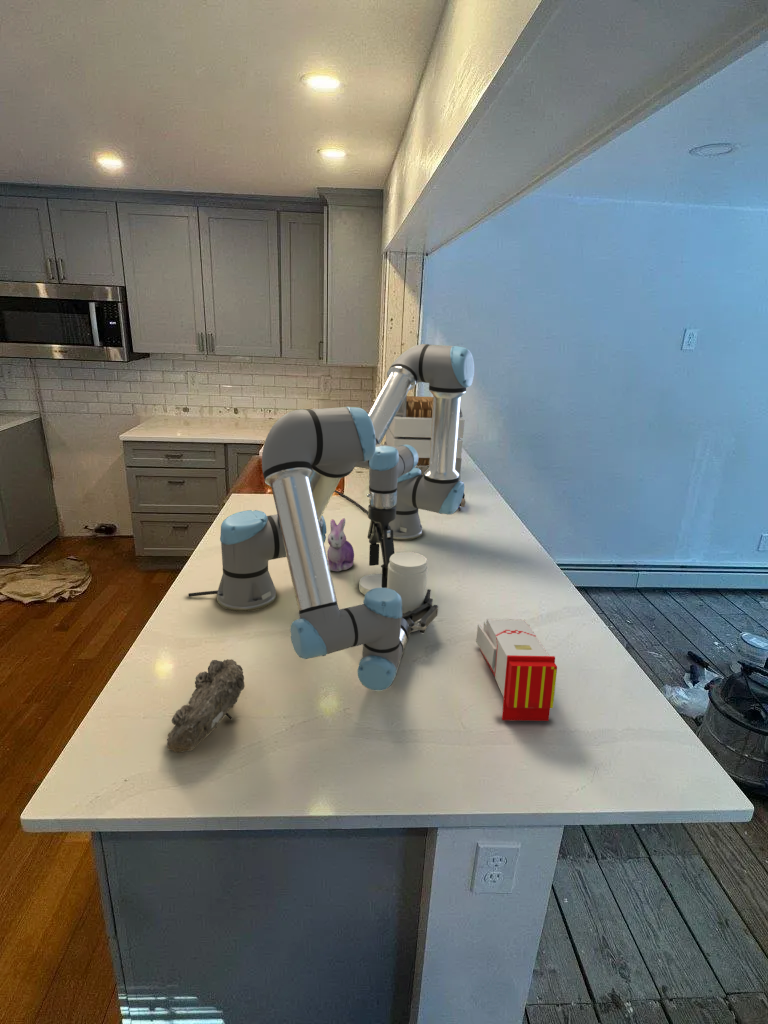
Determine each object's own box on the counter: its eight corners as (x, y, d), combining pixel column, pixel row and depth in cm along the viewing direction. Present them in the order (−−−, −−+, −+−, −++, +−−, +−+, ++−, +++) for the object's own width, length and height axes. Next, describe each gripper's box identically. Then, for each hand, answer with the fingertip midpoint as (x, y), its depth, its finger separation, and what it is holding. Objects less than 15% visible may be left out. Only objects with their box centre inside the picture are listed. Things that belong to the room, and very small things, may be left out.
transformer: (382, 463, 289) (386, 382, 275) (445, 464, 293) (451, 384, 279) (390, 482, 257) (394, 392, 243) (460, 483, 261) (468, 394, 247)
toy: (523, 604, 135) (566, 662, 106) (518, 656, 138) (559, 727, 109) (472, 603, 135) (501, 661, 105) (468, 655, 138) (496, 726, 108)
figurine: (332, 575, 167) (332, 527, 162) (319, 561, 175) (319, 516, 170) (361, 569, 171) (362, 523, 166) (347, 556, 179) (348, 512, 174)
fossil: (192, 660, 117) (244, 628, 112) (224, 691, 120) (276, 661, 115) (142, 746, 98) (202, 712, 93) (182, 779, 101) (242, 748, 96)
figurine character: (465, 515, 224) (460, 499, 237) (467, 498, 221) (462, 483, 234) (448, 515, 224) (444, 499, 237) (450, 498, 220) (445, 482, 234)
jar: (403, 636, 137) (407, 570, 131) (377, 620, 144) (380, 556, 138) (431, 624, 143) (436, 560, 137) (405, 608, 150) (409, 547, 144)
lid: (405, 588, 161) (405, 581, 160) (380, 602, 153) (381, 595, 152) (375, 576, 167) (376, 570, 166) (351, 589, 159) (351, 582, 158)
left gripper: (341, 643, 128) (366, 598, 149) (439, 659, 124) (450, 610, 145) (342, 614, 126) (367, 572, 146) (442, 630, 122) (453, 584, 142)
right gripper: (358, 490, 162) (357, 557, 170) (381, 522, 140) (378, 598, 147) (383, 489, 164) (381, 555, 171) (410, 520, 142) (406, 595, 149)
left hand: (408, 591), depth 146 cm, fingers closed on jar, 10 cm apart
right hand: (380, 575), depth 159 cm, fingers open, 13 cm apart
